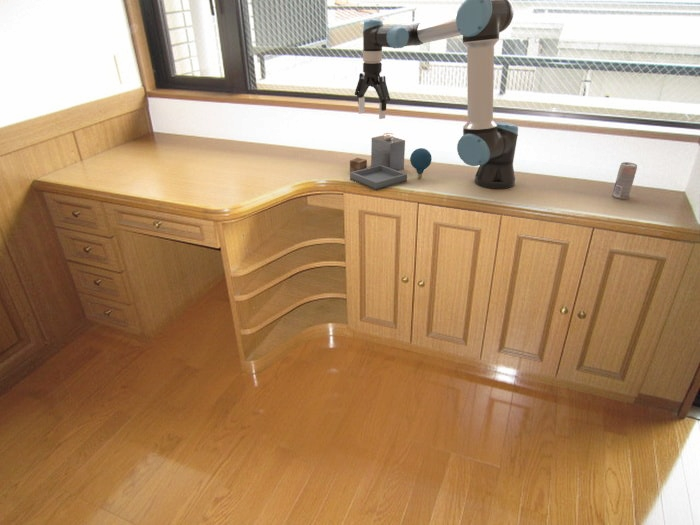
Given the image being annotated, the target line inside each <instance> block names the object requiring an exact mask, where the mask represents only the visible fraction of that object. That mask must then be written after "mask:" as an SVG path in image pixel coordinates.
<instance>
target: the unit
mask: <svg viewBox="0 0 700 525" xmlns="http://www.w3.org/2000/svg"><path fill="white" fill-rule="evenodd" d="M370 145H371V152H370V153H371V156H370V157H371V160H370V161H371V162H370V163H371V164H370V165H371V166H370V167H374V166H378V165H383V166H385V167H388V168H391V169H394V170H397V171H399V170H403V169H405V151H406V140H405V139H401V138H398V137H396V136H394V133H389V132H385V133H383V135H379V136H374V137H371V144H370Z"/></svg>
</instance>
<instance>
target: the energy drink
mask: <svg viewBox="0 0 700 525" xmlns="http://www.w3.org/2000/svg"><path fill="white" fill-rule="evenodd" d="M637 170H638V164H637V163H634V162H628V161H627V162H626V161H624V162H623V161H622V162H621V163H620V165H619V168H618V172H617V176H616V179H615V183H614V188H613V191H612V197H613V198H616V199H619V200H627V199H628V198H629V197H630V195H631V191H632V187H633V184H634V181H635V180H634V179H635V177H636V176H635V175H636V173H637Z"/></svg>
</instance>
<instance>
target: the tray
mask: <svg viewBox="0 0 700 525" xmlns="http://www.w3.org/2000/svg"><path fill="white" fill-rule="evenodd" d="M349 180H350V181H352V180H353V181H352V182H355V181H356V182H355V183H357V182H358V184H360V185H362V186H364V187H366V188H369V189H372V190H374V191H379V190H382V189H386V188H389V187H392V186H393V187H394V186H397V185H400V184H404V183H407V182H408V174H407V173H405V172H401V171H399V170H394V169H391V168H388V167H385V166H383V165H378V166H370V167H367V168H366V169H361V170H357V171H353V172H350V171H349Z"/></svg>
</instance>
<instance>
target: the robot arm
mask: <svg viewBox="0 0 700 525" xmlns="http://www.w3.org/2000/svg"><path fill="white" fill-rule="evenodd" d="M513 18H514V7H513V3H512V2H511V1H510V0H463V1H462V3H461V5H460V6H459V8H458V9H457V12H456V13H454V14H450V15H447V16H446V15H445V16H442V17H439V18H434V19H430V20H426V21H422V22H419V23H414V24H408V25H407V24H403V25H384V24H383V20H382V19H374V18H373V19H365V20H364V22H363V28H362V34H363V35H362V36H363V37H362V40H363V42H362V43H363V44H362V48H363V49H362V54H363V55H362V61H363V63H362V72H363V73H361V72H360V73H359V77H358V81H357V85H356V88H355V92H354V95H355V96H356V97H357V105H358V114H361V115H362V114H365V112H366V111H365V108H366V107H365V106H366V102H365V101H366V98H365V94H366V93H367V91H368V89H369V88H370V87H372V88H373V89H374V90H375V92H376V94H377V96H378V98H379V100H380V101H379V103H378V104H379V106H378V107H379V108H378V109H379V110H378V112H379V113H378V119H379V120H382V119H385V118H386V110H387V102H390V101H391V96H390V93H389V90H388V85H387V83H386V82H387V81H386V76H384V75H382V76H381V73H382V68H383V67H382V65H383V64H382V60H383V58H382V57H383V51H382V50H383V48H391V49H392V48H393V49H402V48H404V47H409V46H415V47H416V46H420V45H423V44H426V43H430V42H431V43H432V42H435V41H436V42H437V41H441V40H445V39H450V38H454V37H460V36H462V44H463V45H464V46H465V48H466V49H467V54H466V55H467V58H466V60H467V64H466V66H467V67H466V68H467V69H466V70H467V74H466V75H467V122H466V123H465V124H464V125H463V127H462V133H463V134H462V136H461V137H460V138H459V139H458V142H457V145H456V150H457V156H458V157H459V158H460V160H461V161H462V162H463V163H465V165H468V166H471V167H478V168H477V171H476V173H475V174H474V183H475V184H476V185H478V186H481V187H484V188H488V189H496V190H497V189H498V190H499V189H500V190H502V189H508V188H513V186H515V182H516V177H515V170H514V158H515V155H516V154H515V153H516V146H517V142H518V141H517V140H518V137H519V134H518V133H519V127H518V125H517V124H515V123H511V122H506V121H499V120H497V121H495V120H494V73H495V72H494V69H495V68H494V66H495V63H494V62H495V45H496V44H497V42H499V41H500V33H502V32H503V31H505V30H506V29H508V27H509V26H510V25H511V23H512V22H513Z"/></svg>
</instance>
